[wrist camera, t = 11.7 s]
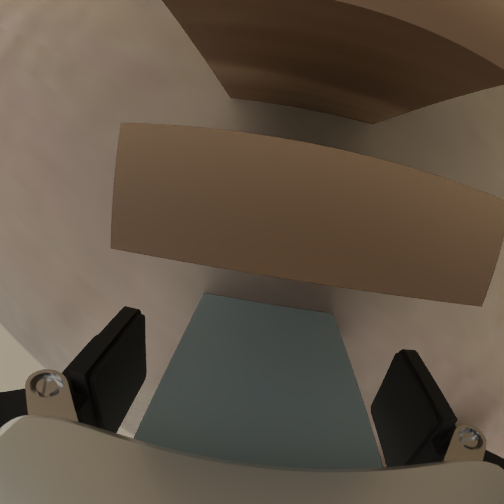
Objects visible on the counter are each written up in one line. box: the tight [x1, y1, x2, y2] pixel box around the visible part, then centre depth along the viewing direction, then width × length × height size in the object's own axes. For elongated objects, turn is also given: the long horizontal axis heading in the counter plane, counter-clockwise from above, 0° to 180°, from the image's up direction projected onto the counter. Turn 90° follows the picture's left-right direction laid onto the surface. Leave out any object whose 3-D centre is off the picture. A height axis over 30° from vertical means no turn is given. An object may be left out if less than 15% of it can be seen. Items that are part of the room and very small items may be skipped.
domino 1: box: [162, 0, 504, 124], centre depth 7 cm, size 2×6×9 cm, turn 81°
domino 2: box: [111, 123, 504, 307], centre depth 8 cm, size 2×6×9 cm, turn 81°
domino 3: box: [133, 293, 383, 469], centre depth 10 cm, size 2×6×9 cm, turn 81°
